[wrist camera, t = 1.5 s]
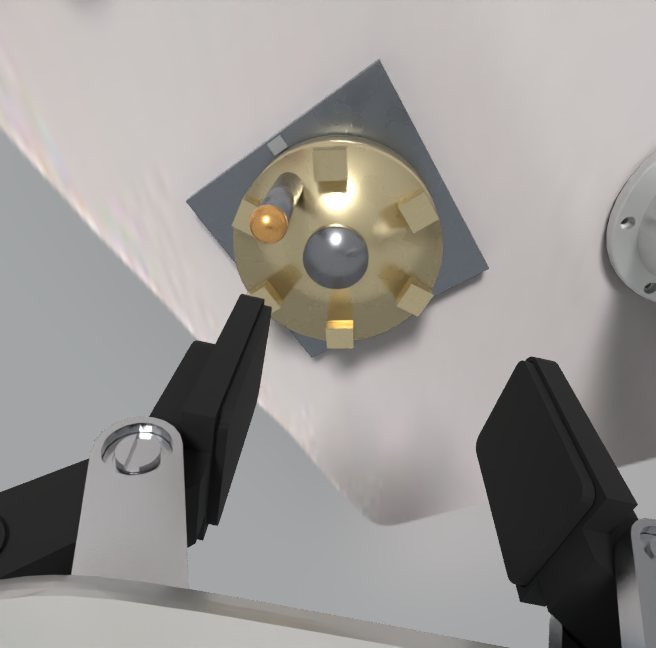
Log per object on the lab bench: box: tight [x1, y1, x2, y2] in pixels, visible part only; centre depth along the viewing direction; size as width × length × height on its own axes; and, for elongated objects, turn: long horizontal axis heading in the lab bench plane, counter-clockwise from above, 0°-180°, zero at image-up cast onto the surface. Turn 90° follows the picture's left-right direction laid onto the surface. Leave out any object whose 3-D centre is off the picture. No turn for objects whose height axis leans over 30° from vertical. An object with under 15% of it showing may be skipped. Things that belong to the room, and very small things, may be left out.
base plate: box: [186, 59, 489, 357], centre depth 32 cm, size 15×15×2 cm
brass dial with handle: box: [232, 135, 443, 349], centre depth 27 cm, size 13×13×10 cm
